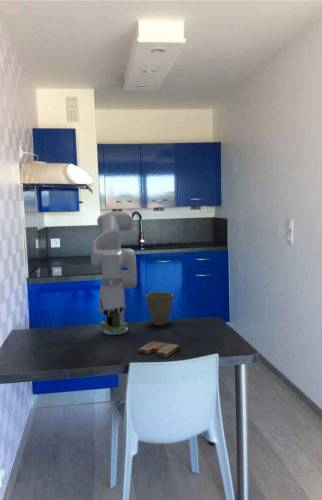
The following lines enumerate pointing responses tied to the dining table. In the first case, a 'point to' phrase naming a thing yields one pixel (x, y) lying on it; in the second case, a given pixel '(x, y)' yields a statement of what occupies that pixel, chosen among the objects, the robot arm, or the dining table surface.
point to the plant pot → (159, 306)
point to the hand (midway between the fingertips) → (113, 324)
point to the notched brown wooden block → (159, 348)
